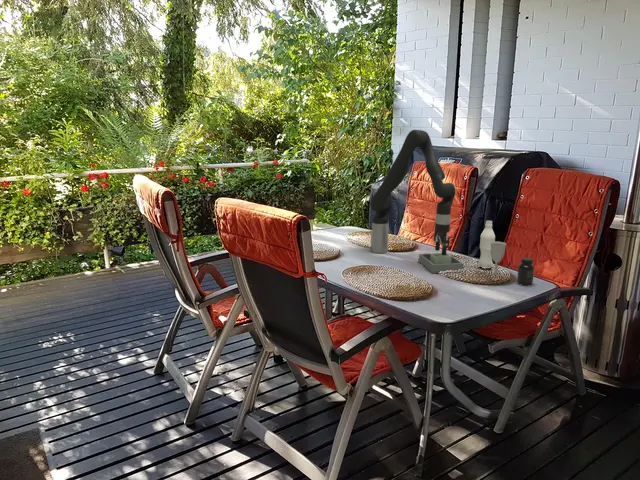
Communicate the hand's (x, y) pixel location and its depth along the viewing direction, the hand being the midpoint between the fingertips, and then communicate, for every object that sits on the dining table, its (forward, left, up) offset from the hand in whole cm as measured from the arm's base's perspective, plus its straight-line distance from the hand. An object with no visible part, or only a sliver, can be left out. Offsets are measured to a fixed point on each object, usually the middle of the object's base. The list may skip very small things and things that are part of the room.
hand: (440, 252), depth 253 cm
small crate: (0, 0, -7) cm, 7 cm away
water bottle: (+22, -6, -8) cm, 24 cm away
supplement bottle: (+29, -31, -8) cm, 43 cm away
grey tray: (0, 0, -8) cm, 8 cm away
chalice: (+19, -23, -8) cm, 31 cm away
